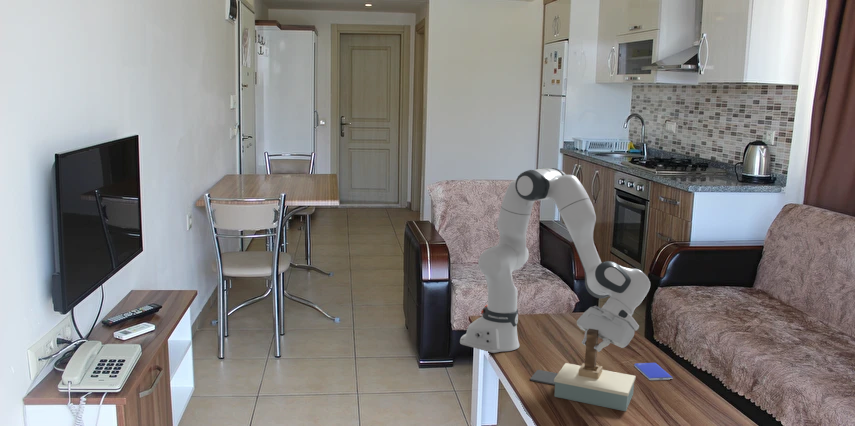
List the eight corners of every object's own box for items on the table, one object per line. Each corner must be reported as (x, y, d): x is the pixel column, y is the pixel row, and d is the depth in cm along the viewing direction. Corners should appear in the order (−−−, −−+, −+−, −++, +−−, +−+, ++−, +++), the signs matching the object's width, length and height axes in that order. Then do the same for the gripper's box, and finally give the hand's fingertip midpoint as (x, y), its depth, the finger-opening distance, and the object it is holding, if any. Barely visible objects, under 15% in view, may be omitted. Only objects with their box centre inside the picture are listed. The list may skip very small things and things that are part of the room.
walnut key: (584, 367, 220) (587, 331, 218) (586, 364, 222) (589, 328, 220) (593, 369, 218) (596, 332, 216) (595, 365, 221) (598, 330, 219)
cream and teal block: (553, 396, 217) (554, 372, 216) (564, 379, 230) (565, 357, 229) (626, 411, 208) (628, 386, 207) (634, 393, 221) (636, 369, 220)
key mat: (529, 380, 229) (530, 378, 229) (537, 370, 238) (537, 369, 237) (556, 385, 226) (556, 384, 226) (563, 375, 234) (563, 374, 234)
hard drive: (634, 363, 244) (649, 377, 232) (656, 362, 245) (672, 376, 233) (633, 367, 244) (649, 382, 232) (655, 366, 245) (672, 381, 233)
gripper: (588, 298, 229) (563, 331, 226) (634, 317, 212) (608, 352, 209) (597, 310, 232) (573, 342, 229) (643, 328, 215) (617, 363, 212)
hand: (590, 347), depth 219 cm, fingers closed on walnut key, 4 cm apart
